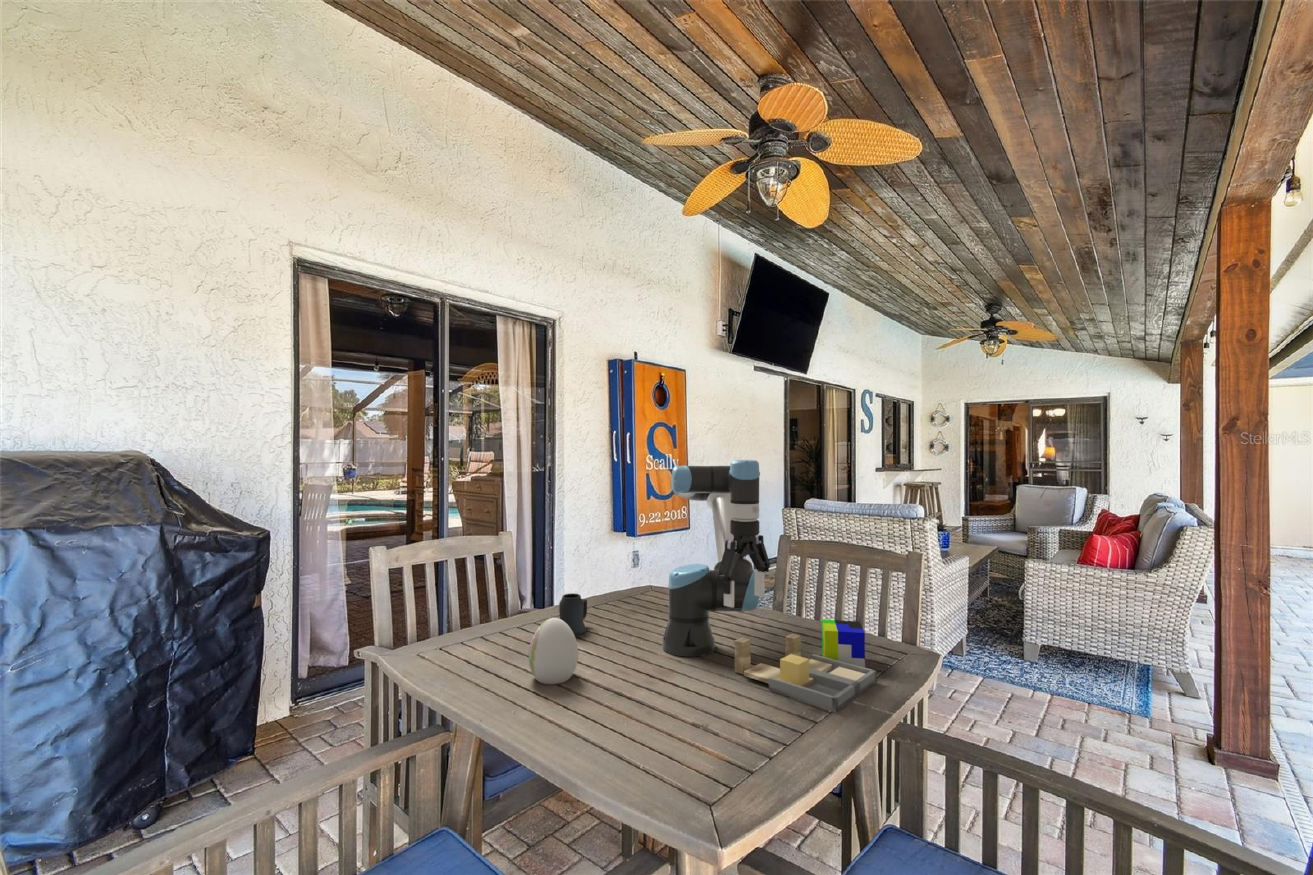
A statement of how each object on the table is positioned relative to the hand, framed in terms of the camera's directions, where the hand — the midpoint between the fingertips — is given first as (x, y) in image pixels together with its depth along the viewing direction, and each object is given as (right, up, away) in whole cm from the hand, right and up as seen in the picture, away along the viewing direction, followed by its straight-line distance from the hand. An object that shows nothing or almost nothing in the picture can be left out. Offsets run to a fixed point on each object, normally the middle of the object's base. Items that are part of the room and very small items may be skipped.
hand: (744, 601), depth 153 cm
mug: (-49, -19, +33) cm, 62 cm away
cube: (+10, -16, -11) cm, 22 cm away
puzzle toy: (+27, -18, +5) cm, 33 cm away
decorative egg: (-49, -18, -5) cm, 52 cm away
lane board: (+18, -18, -10) cm, 27 cm away
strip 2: (+16, -18, -1) cm, 24 cm away
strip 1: (+5, -18, -7) cm, 20 cm away
